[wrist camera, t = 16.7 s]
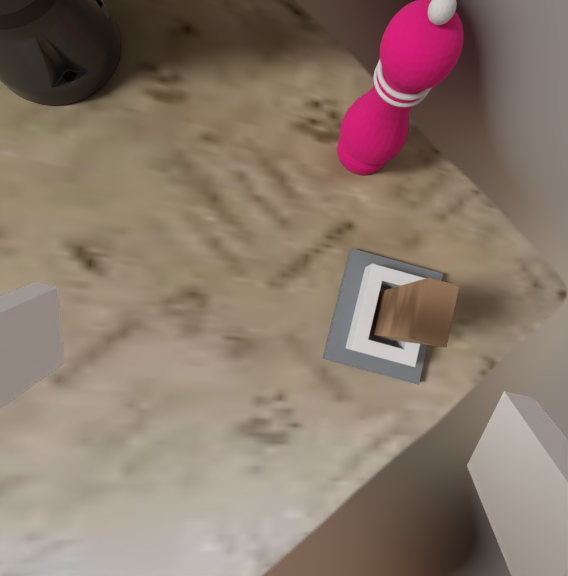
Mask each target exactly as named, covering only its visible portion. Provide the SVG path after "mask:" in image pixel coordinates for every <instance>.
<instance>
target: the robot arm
mask: <svg viewBox="0 0 568 576" xmlns="http://www.w3.org/2000/svg"><path fill="white" fill-rule="evenodd" d="M120 48H121V44H120V36H119V32H118V29H117V26H116V24H115V22H114V20H113V18H112V16H111V14H110V12H109V10H108V8H107V6H106V5H105V3H104V2H103V0H0V81H1V82H3V83H4V84H5V85H6V86H7V87H8V88H9V89H10V90H11V91H13V92H14V93H15V94H17V95H19V96H20V97H22V98H24V99H26V100H29V101H32V102H35V103H39V104H45V105H64V104H69V103H74V102H77V101H80V100H82V99H84V98H87V97H89V96H90V95H92V94H94V93H95V92H96V91H98V90H99V89H100V88H101V87H102V86H103V85H104V84H105V83H106V82H107V81H108V80H109V79H110V77H111V76H112V74H113V72H114V71H115V69H116V66H117V64H118V61H119V57H120ZM64 363H65V361H64V350H63V338H62V327H61V316H60V304H59V293H58V287H55V286H50V285H46V284H42V283H37V282H34V283H31V284H29V285H26V286H24V287H21V288H19V289H16V290H13V291H11V292H8V293H6V294H3V295H1V296H0V409H1V408H3V407H4V406H6V405H7V404H8V403H10V402H11V401H13V400H14V399H15V398H17V397H18V396H19V395H21V394H22V393H24V392H25V391H26V390H28V389H29V388H31V387H32V386H33V385H35V384H36V383H38V382H39V381H40V380H42V379H43V378H44V377H46V376H47V375H49V374H50V373H51V372H53V371H54V370H56V369H57V368H58V367H60V366H61V365H63V364H64ZM467 467H468V469H469V472H470V474H471V477H472V479H473V482H474V484H475V487H476V489H477V492H478V494H479V497H480V499H481V502H482V504H483V507H484V509H485V511H486V514H487V516H488V519H489V521H490V524H491V526H492V529H493V531H494V533H495V536H496V539H497V541H498V544H499V546H500V549H501V551H502V554H503V556H504V558H505V561H506V564H507V566H508V568H509V571H510V573H511V576H568V440H567V439H566V437H565V436H564V435H563V434H562V433H561V431H560V430H559V429H558V427H557V426H556V425H555V424H554V422H553V421H552V420H551V419H550V417H549V416H548V415H547V414H546V413H545V411H544V410H543V409H542V408H541V406H540V405H539V404H538V403H537V401H536V400H535V399H534V398H531V397H527V396H523V395H518V394H514V393H510V392H506V391H504V393H503V395H502V397H501V399H500V401H499V403H498V405H497V407H496V409H495V411H494V413H493V415H492V417H491V419H490V421H489V423H488V425H487V427H486V429H485V431H484V433H483V435H482V437H481V439H480V441H479V443H478V445H477V447H476V449H475V451H474V453H473V455H472V457H471V459H470V461H469V463H468V465H467Z"/></svg>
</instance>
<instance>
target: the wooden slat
mask: <svg viewBox="0 0 568 576" xmlns="http://www.w3.org/2000/svg"><path fill="white" fill-rule="evenodd" d="M458 290H459V286H458V285H455V284H451V283H447V282H444V281H440V280H437V279H433V278H430V277H429V278H426V279H422V280H419V281H415V282H412V283H408V284H405V285H401V286H398V287H394V288H391V289H387V290H384V291H380V292H379V296H378V300H377V305H376V309H375V313H374V317H373V321H372V326H371V330H370V335H373V336H377V337H381V338H384V339H388V340H393V341H401V342H409V343H417V344H425V345H432V346H440V347H447V342H448V338H449V333H450V328H451V323H452V319H453V314H454V309H455V304H456V300H457V295H458Z"/></svg>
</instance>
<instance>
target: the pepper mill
mask: <svg viewBox="0 0 568 576" xmlns="http://www.w3.org/2000/svg"><path fill="white" fill-rule="evenodd" d="M456 5H457V2H456V0H416V1H414V2H411V3H409V4H408V5H406V6H405V7H403V8H402V9H401V10H400V11H399V12H398V13H397V14H396V15H395V16H394V17H393V18H392V20H391V21H390V23H389V25H388V26H387V28H386V30H385V32H384V34H383V38H382V41H381V45H380V60H379V62H378V65H377V67H376V69H375V72H374V86H373V88H372V89H371V90H370V91H369V92H367V93H366V94H364V95H363V96H361V97H360V98H358V99H357V100H356V101H355V102H354V103H353V104H352V106H351V107H350V108H349V109H348V111H347V113H346V114H345V116H344V118H343V120H342V124H341V130H340V135H341V137H340V140H339V143H338V148H337V151H338V156H339V159H340V161H341V163H342V164H343V166H344V167H345V168H346V169H348V170H349V171H351V172H353V173H355V174H359V175H369V174H372V173H375V172H377V171H378V170H379V169H381V168H382V167H383V165H384V164H385V162H387V161H389V160H390V159H392V158H393V157H394V156H396V155H397V153H398V152H399V151H400V149H401V148H402V146H403V144H404V142H405V140H406V138H407V134H408V129H409V111H410V110H411V108H412V106H414V105H416V104H418V103H419V102H421V101H422V100H423V99H424V98H425V97H426V95H427V93H428V92H429V91H430V89H431V88H432V87H434V86H436V85H437V84H439V83H440V82H441V81H443V80H444V79H445V78H446V77H447V75H448V74H449V73H450V72H451V71H452V69H453V68H454V66H455V64H456V62H457V60H458V59H459V56H460V53H461V50H462V45H463V27H462V23H461V20H460V18H459V16H458V14H457V13H456V12H455V10H456Z"/></svg>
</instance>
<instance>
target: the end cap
mask: <svg viewBox="0 0 568 576" xmlns="http://www.w3.org/2000/svg"><path fill="white" fill-rule="evenodd" d="M442 276H443V274H442V273H439V272H435V271H432V270H428V269H424V268H421V267H417V266H414V265H410V264H407V263H403V262H399V261H396V260H392V259H389V258H385V257H382V256H378V255H374V254H371V253H367V252H364V251H360V250H357V249H353V248H352V249H351V250H350V251H349V255H348V259H347V263H346V267H345V271H344V275H343V279H342V283H341V287H340V291H339V295H338V299H337V303H336V307H335V311H334V315H333V319H332V323H331V327H330V331H329V335H328V339H327V343H326V346H325V350H324V354H323V358H324V359H327V360H330V361H334V362H338V363H341V364H345V365H349V366H352V367H356V368H360V369H364V370H367V371H371V372H375V373H378V374H382V375H386V376H389V377H393V378H397V379H400V380H404V381H408V382H412V383H415V384H419V382H420V377H421V373H422V368H423V364H424V359H425V354H426V350H427V345H425V344H417V343H409V342H401V341H393V340H388V339H384V338H381V337H377V336H373V335H370V330H371V326H372V321H373V317H374V313H375V309H376V305H377V300H378V296H379V292H380V291H384V290H387V289H391V288H394V287H398V286H401V285H405V284H408V283H412V282H415V281H419V280H422V279H426V278H429V277H430V278H433V279H437V280H440V281H442Z"/></svg>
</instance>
